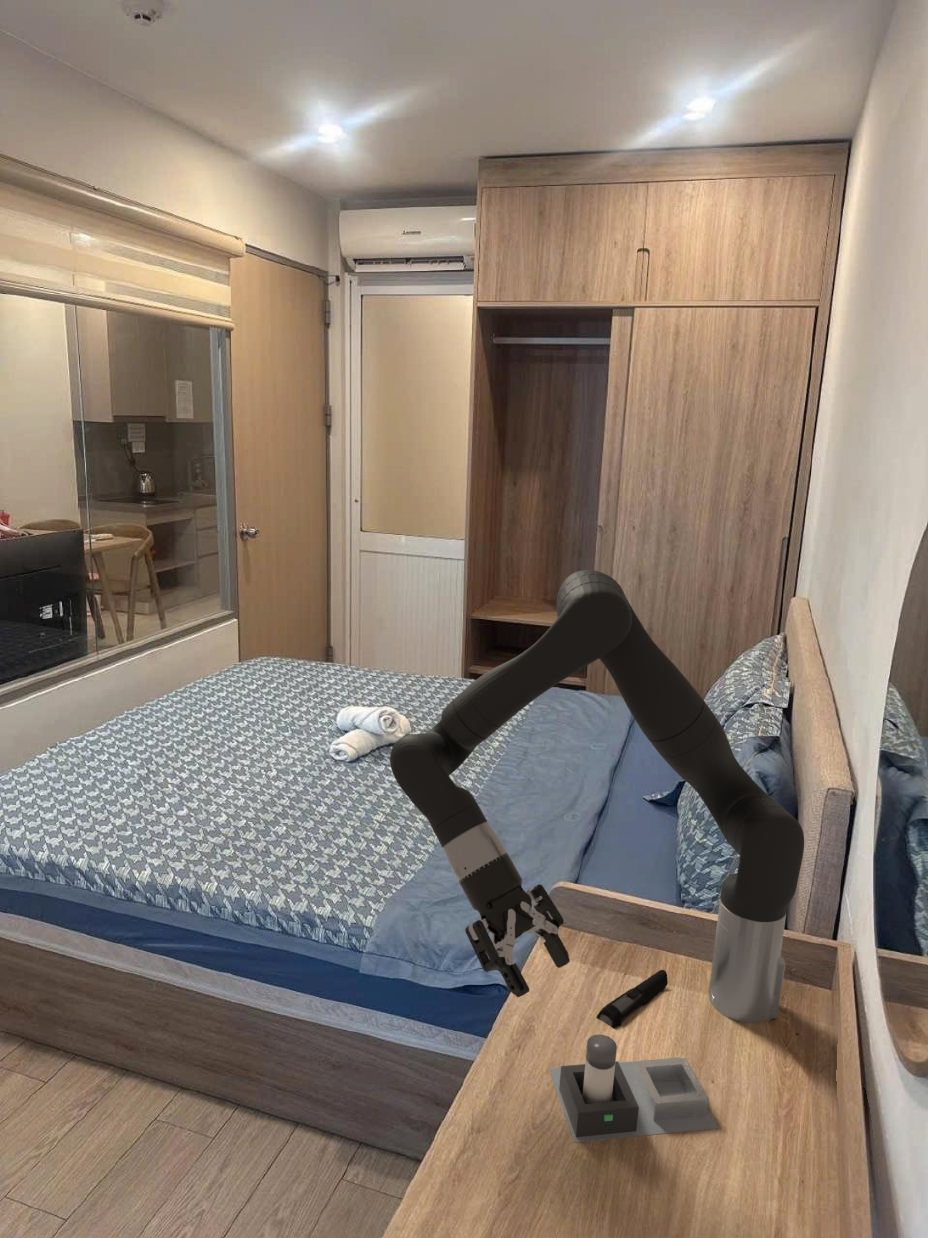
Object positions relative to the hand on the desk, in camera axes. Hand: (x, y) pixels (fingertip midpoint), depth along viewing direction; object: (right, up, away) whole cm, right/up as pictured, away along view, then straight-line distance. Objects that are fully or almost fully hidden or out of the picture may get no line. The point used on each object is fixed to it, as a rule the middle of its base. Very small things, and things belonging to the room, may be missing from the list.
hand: (544, 979), depth 111 cm
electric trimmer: (+15, -12, +18) cm, 26 cm away
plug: (+6, -15, -3) cm, 17 cm away
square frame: (+16, -15, 0) cm, 22 cm away
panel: (+11, -16, 0) cm, 19 cm away
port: (+6, -15, -3) cm, 17 cm away
